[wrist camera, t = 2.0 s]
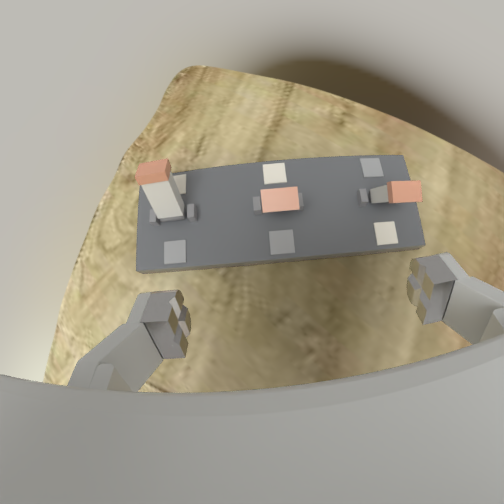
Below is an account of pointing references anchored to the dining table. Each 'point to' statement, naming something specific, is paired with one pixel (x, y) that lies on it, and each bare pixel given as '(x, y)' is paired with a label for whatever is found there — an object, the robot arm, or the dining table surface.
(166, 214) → the lever
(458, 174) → the dining table surface
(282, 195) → the middle lever
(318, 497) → the robot arm
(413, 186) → the lever
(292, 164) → the switch panel
